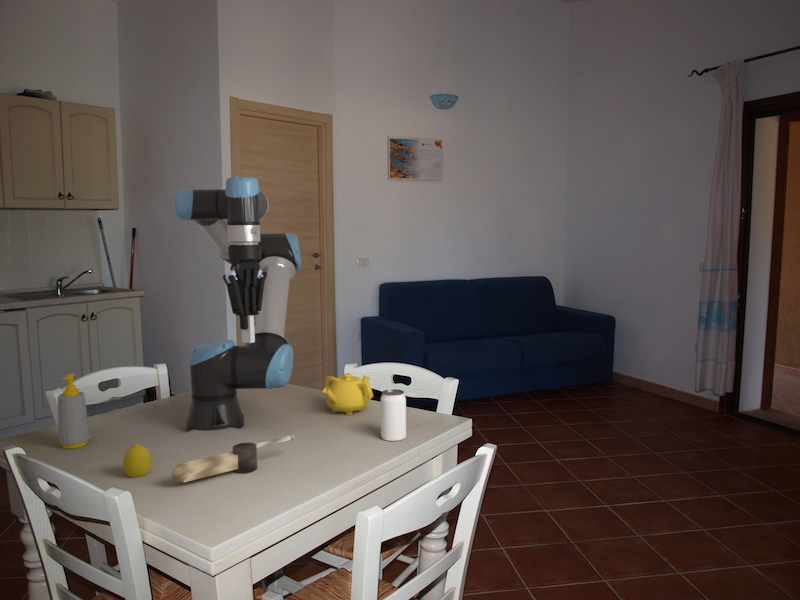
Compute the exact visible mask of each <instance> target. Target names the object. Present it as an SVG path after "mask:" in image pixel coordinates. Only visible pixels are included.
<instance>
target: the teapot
mask: <svg viewBox="0 0 800 600" xmlns="http://www.w3.org/2000/svg"><path fill="white" fill-rule="evenodd" d="M370 379H371V378H370V377H369V376H368V375H363V376H362V378H360V377H358V376H353V374H352V373H351V372H350V373H349V372H344V373H343V374H342V376H339V377H336V376H333V375H328V376H326V379H325V383H324V388H323V389H322V393H323V394H324V396H325V397H326V401H325V402H326V404H327V406H328V407H329V408H330V409H331V413H333V414H334V413H340V412H343V413H344V412H345V416H347V417H351V416H353V415H354V412H357V411H358V412H363V411H365V410H366V409H365V408H366V407H367V406H368V404H369V402H370V401H371V399H372V398H373V397H374V393H373V390H372V385H371V383H370Z"/></svg>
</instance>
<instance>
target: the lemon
mask: <svg viewBox="0 0 800 600" xmlns="http://www.w3.org/2000/svg"><path fill="white" fill-rule="evenodd" d="M152 460H153V459H152V455H151V453H150V451H149V449H148V448H147V447H146V446H144V445H140V444H138V443H136V444H134V445H133V446H131V447H129V448H128V449H127V450H126V452H125V454H124V457H123V460H122V462H123V463H122V465H123V466H122V467H123V470H124V473H125V475H126V476H127V477H128V478H132V479H133V478H134V479H135V478H142V477H145V476H146V475H147V474H149V472H150V471H151V468H152V462H153V461H152Z"/></svg>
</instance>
